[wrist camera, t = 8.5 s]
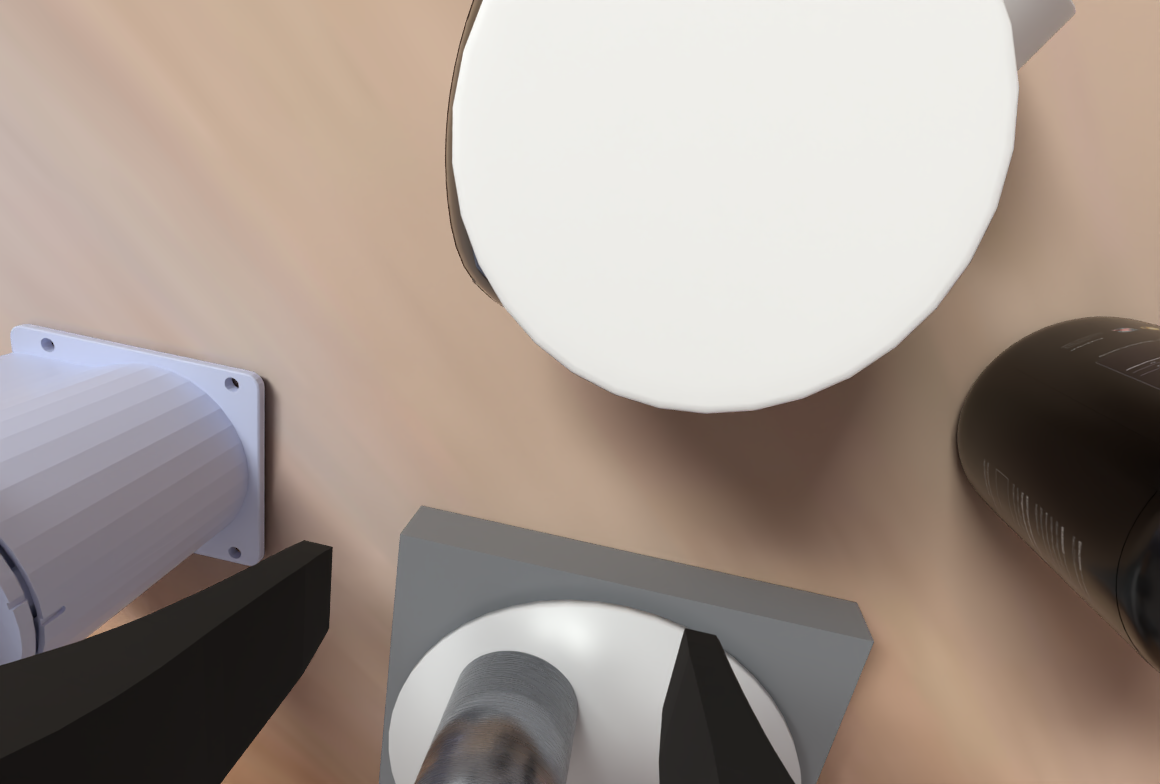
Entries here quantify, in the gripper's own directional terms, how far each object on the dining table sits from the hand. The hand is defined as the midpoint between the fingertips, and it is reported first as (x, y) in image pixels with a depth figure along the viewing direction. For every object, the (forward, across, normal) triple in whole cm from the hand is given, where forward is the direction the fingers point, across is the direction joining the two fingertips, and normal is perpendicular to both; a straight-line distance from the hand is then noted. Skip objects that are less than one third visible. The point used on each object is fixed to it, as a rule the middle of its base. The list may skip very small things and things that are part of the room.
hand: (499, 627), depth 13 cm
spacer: (+7, 0, +9) cm, 12 cm away
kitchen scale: (+10, -3, +14) cm, 17 cm away
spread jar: (+10, -3, -11) cm, 15 cm away
